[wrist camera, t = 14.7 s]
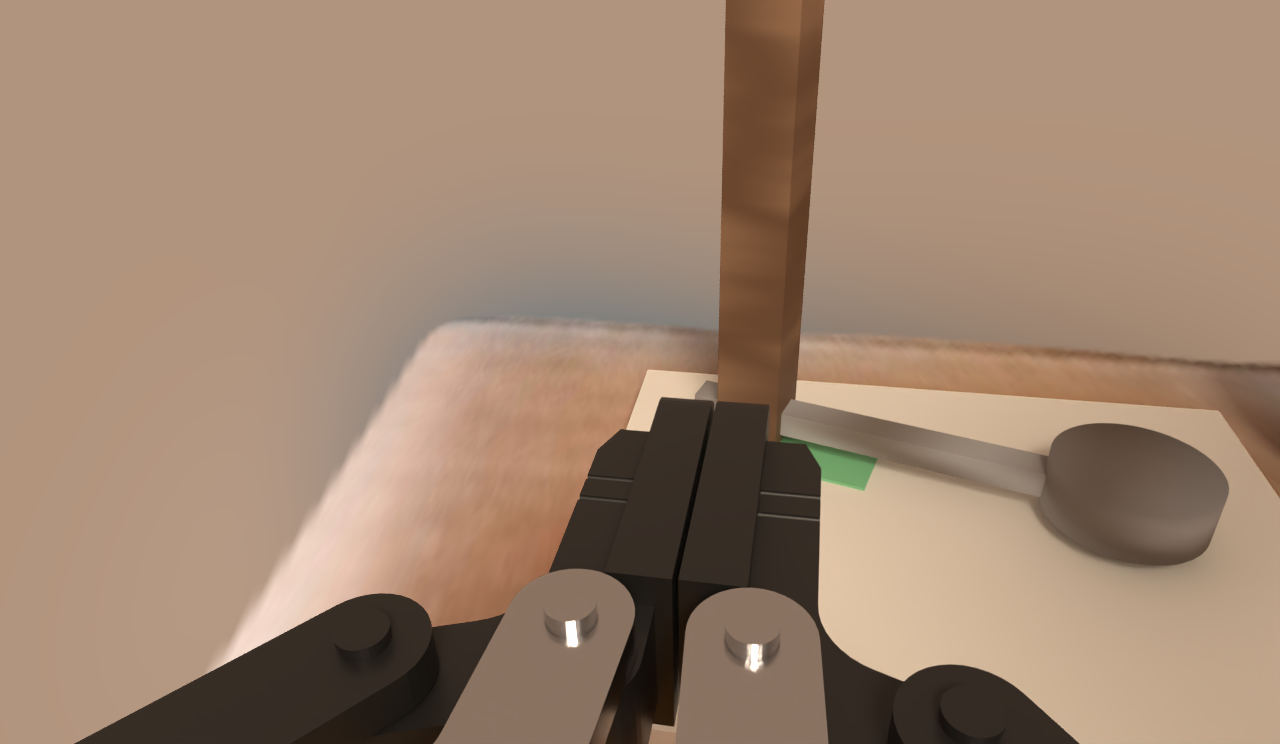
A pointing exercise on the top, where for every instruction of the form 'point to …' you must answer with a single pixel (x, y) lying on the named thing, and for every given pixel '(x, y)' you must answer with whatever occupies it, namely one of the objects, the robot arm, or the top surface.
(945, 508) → the dial plate
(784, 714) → the robot arm
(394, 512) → the top surface
